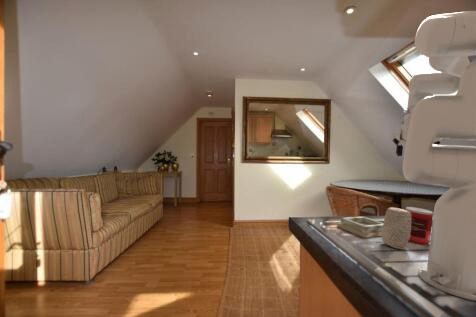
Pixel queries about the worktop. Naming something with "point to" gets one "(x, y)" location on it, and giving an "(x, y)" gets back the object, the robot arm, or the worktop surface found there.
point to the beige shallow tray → (362, 226)
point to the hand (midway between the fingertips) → (413, 157)
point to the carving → (396, 228)
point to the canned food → (420, 225)
